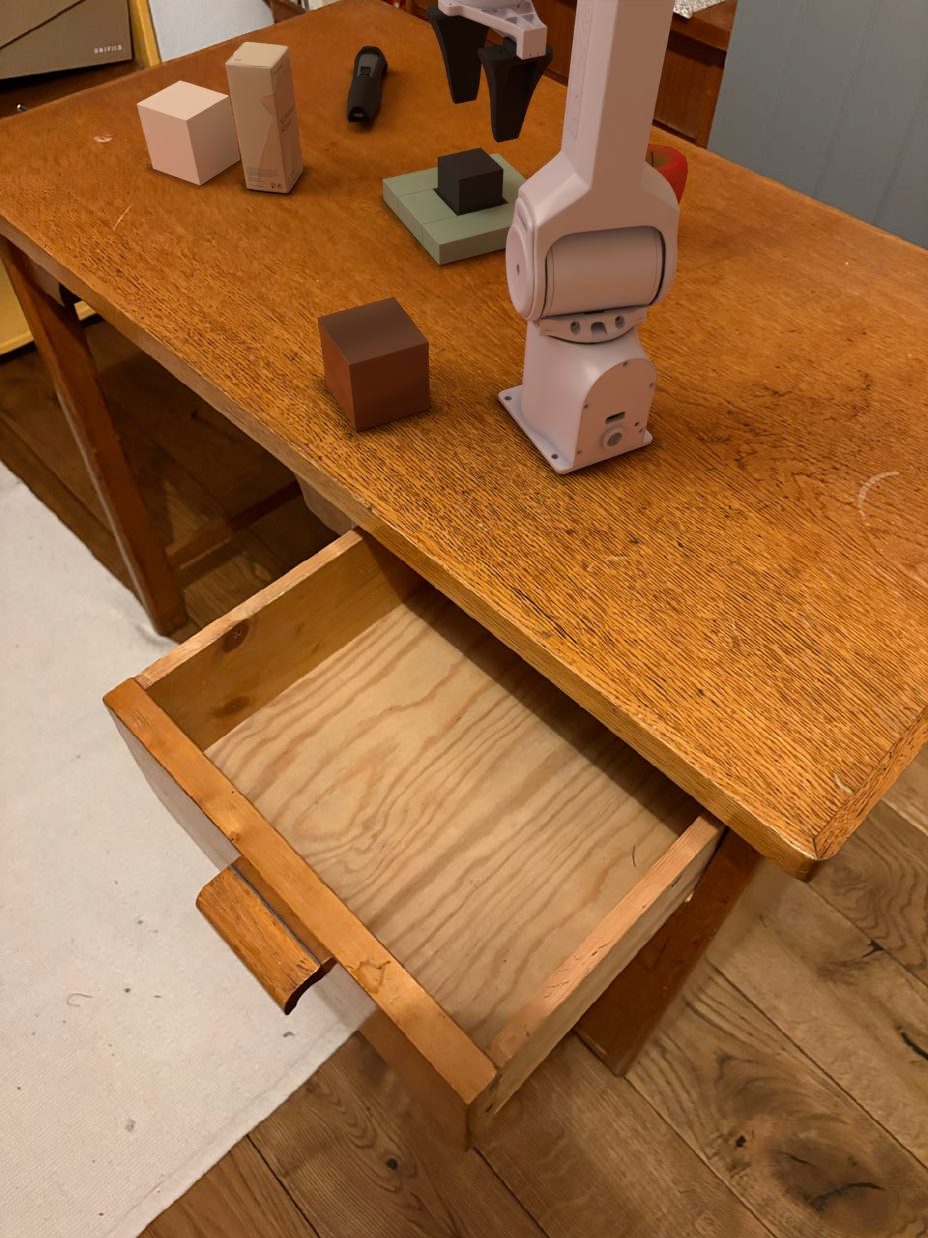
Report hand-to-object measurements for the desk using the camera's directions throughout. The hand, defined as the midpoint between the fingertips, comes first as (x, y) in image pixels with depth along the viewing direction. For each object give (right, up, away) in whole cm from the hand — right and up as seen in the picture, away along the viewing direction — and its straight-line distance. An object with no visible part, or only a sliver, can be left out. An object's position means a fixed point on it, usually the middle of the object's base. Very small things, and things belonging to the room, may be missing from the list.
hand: (484, 119), depth 77 cm
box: (-20, 0, +11) cm, 23 cm away
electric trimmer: (-12, +14, +22) cm, 29 cm away
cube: (-8, -26, -8) cm, 28 cm away
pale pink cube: (-28, +2, +13) cm, 31 cm away
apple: (+14, -5, +3) cm, 15 cm away
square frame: (-1, -5, +7) cm, 9 cm away
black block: (-1, -5, +7) cm, 9 cm away
